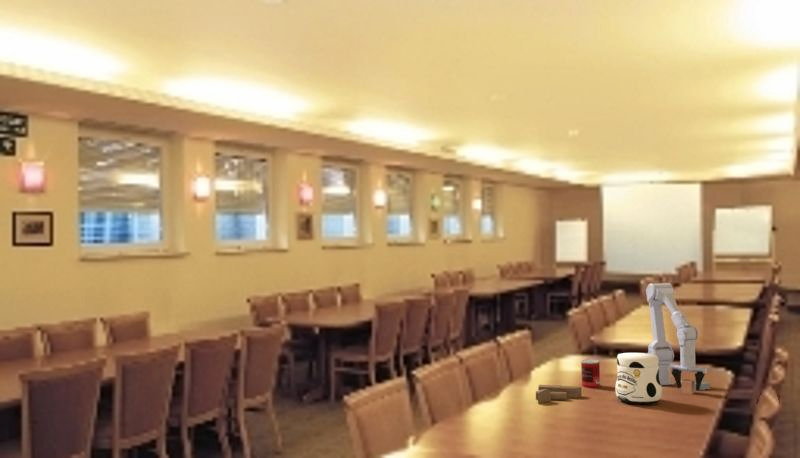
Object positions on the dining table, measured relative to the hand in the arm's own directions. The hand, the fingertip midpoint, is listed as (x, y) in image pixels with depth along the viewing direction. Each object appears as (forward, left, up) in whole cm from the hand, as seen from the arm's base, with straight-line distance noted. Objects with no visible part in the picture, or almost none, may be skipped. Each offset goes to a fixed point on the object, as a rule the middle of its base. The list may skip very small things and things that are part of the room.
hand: (688, 388), depth 291 cm
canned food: (-34, +20, -2) cm, 39 cm away
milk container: (-27, -11, -2) cm, 29 cm away
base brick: (+8, +7, -2) cm, 11 cm away
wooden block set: (-57, -2, -2) cm, 57 cm away
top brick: (0, 0, -2) cm, 2 cm away
